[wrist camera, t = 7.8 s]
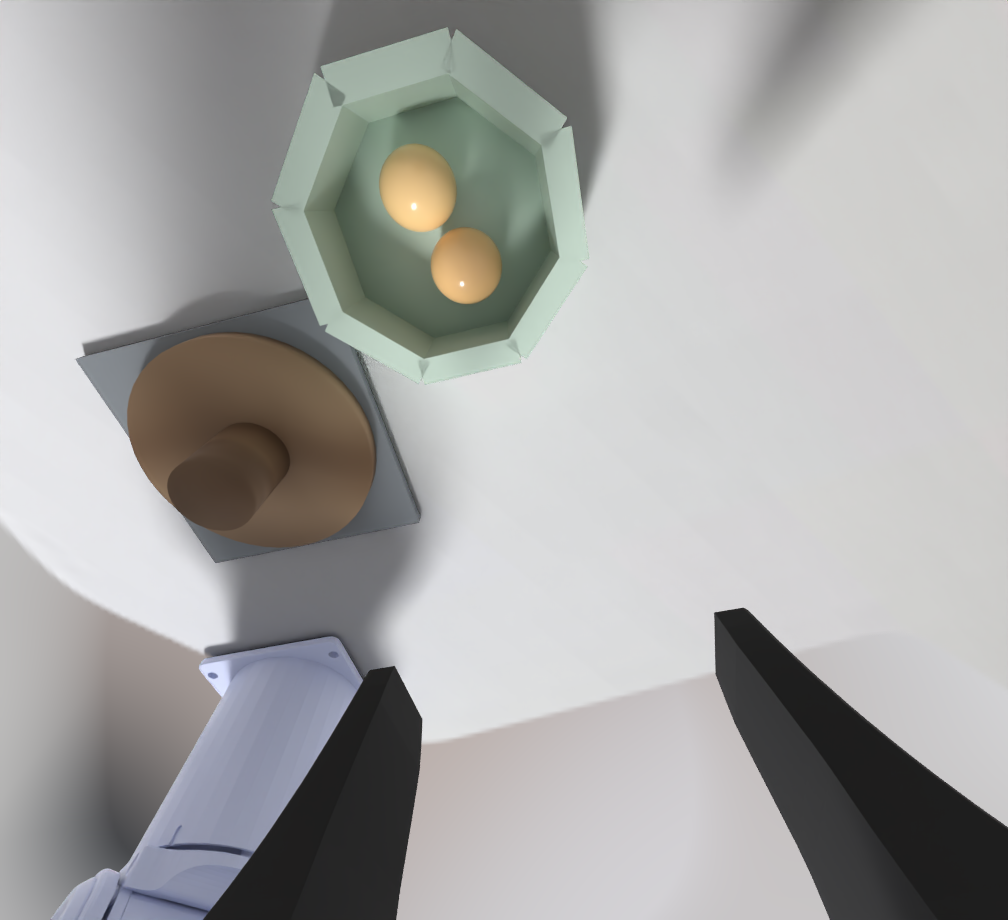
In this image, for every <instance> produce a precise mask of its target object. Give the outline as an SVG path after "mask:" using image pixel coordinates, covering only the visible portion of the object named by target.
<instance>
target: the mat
mask: <svg viewBox="0 0 1008 920" xmlns="http://www.w3.org/2000/svg"><path fill="white" fill-rule="evenodd" d="M327 325H328V324H325V325H321V326H320V325H319V322H318V320H317V317H316V315H315V313H314V310H313V308H312V305H311V303H310V301H309V299H305V300H301V301H298V302H294V303H290V304H286V305H282V306H278V307H274V308H270V309H266V310H262V311H258V312H255V313H251V314H247V315H243V316H239V317H235V318H231V319H227V320H223V321H219V322H215V323H212V324H208V325H204V326H200V327H196V328H192V329H188V330H184V331H180V332H176V333H172V334H169V335H165V336H161V337H157V338H153V339H149V340H145V341H141V342H137V343H133V344H129V345H126V346H122V347H118V348H114V349H110V350H106V351H102V352H98V353H94V354H90V355H86V356H83V357H80V358H77V359H76V361H77V362H78V364H79V365H80V367H81V368H82V370H83V371H84V372H85V374H86V375H87V377H88V378H89V380H90V381H91V383H92V384H93V386H94V387H95V388H96V390H97V391H98V393H99V394H100V396H101V397H102V399H103V400H104V402H105V403H106V405H107V406H108V407H109V409H110V410H111V412H112V413H113V415H114V416H115V418H116V419H117V421H118V422H119V423H120V425H121V426H122V428H123V429H124V431H125V432H126V434H127V435H128V437H129V432H128V426H127V408H128V401H129V396H130V394H131V391H132V388H133V385H134V383H135V381H136V380H137V378H138V376H139V374H140V373H141V372H142V370H143V369H144V368H145V367H146V366H147V365H148V363H149V362H150V361H152V360H153V359H154V358H155V357H157V356H158V355H159V354H160V353H162V352H164V351H166V350H168V349H170V348H171V347H173V346H175V345H178V344H180V343H182V342H185V341H187V340H190V339H193V338H196V337H199V336H202V335H207V334H212V333H220V332H241V333H251V334H256V335H261V336H266V337H270V338H273V339H276V340H278V341H281V342H284V343H287V344H289V345H291V346H293V347H295V348H298V349H300V350H302V351H303V352H305V353H307V354H308V355H310V356H312V357H313V358H315V359H317V360H318V361H319V362H321V363H322V364H323V365H324V366H326V367H327V368H328V369H330V370H331V371H332V372H333V373H334V374H335V375H336V376H337V377H338V378H339V379H340V380H341V381H342V382H343V383H344V384H345V385H346V386H347V387H348V389H349V390H350V391H351V392H352V393H353V395H354V396H355V398H356V399H357V401H358V402H359V404H360V405H361V407H362V409H363V411H364V413H365V415H366V417H367V419H368V421H369V423H370V426H371V429H372V432H373V435H374V441H375V446H376V460H377V462H376V471H375V476H374V480H373V483H372V486H371V488H370V491H369V493H368V495H367V497H366V499H365V501H364V504H363V506H362V507H361V509H360V510H359V512H358V513H357V515H356V516H355V517H354V518H353V519H352V520H351V521H350V522H349V523H348V524H347V525H346V526H345V527H343V528H342V529H341V530H340V531H338V532H336V533H335V534H333V535H331V536H330V537H328V538H325V539H323V540H320V541H318V542H315V543H319V542H324V541H329V540H334V539H339V538H344V537H349V536H354V535H359V534H364V533H369V532H374V531H380V530H385V529H390V528H395V527H400V526H405V525H410V524H415V523H419V521H420V515H419V512H418V510H417V507H416V505H415V502H414V499H413V497H412V494H411V492H410V489H409V487H408V484H407V481H406V479H405V476H404V474H403V471H402V469H401V466H400V463H399V461H398V458H397V456H396V453H395V451H394V448H393V445H392V443H391V440H390V438H389V435H388V433H387V430H386V427H385V425H384V422H383V420H382V417H381V415H380V412H379V409H378V407H377V404H376V402H375V399H374V397H373V394H372V391H371V389H370V386H369V384H368V381H367V379H366V376H365V373H364V371H363V368H362V366H361V363H360V361H359V358H358V355H357V353H356V350H355V348H354V347H352V346H350V345H348V344H347V343H345V342H343V341H341V340H339V339H338V338H336V337H334V336H332V335H331V334H329V333H327V332H325V330H326V328H327ZM129 438H130V437H129ZM183 517H184V518H185V520H186V521H187V522H188V524H189V525H190V527H191V528H192V530H193V531H194V533H195V534H196V536H197V537H198V538H199V540H200V541H201V543H202V544H203V546H204V547H205V549H206V550H207V552H208V553H209V555H210V556H211V557H212V559H213V560H214V562H215V563H219V562H224V561H229V560H234V559H239V558H244V557H249V556H254V555H259V554H264V553H269V552H274V551H279V550H284V549H289V548H294V547H281V548H276V547H262V546H256V545H250V544H246V543H242V542H238V541H235V540H232V539H229V538H226V537H224V536H221V535H219V534H217V533H214V532H212V531H210V530H208V529H206V528H204V527H202V526H199V525H197V524H195V523H193V522H192V521H190V520H189V519H187V518H186V517H185V516H183ZM311 544H314V543H311ZM307 545H309V544H307ZM303 546H304V545H303ZM296 547H299V546H296Z"/></svg>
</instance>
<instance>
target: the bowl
mask: <svg viewBox="0 0 1008 920" xmlns="http://www.w3.org/2000/svg"><path fill="white" fill-rule="evenodd" d="M320 67H321V70H322V73H323V76H324V79H325V80H324V79H323V78H321V77H320V76H318V75H317V74H316V73H314V75H313V78H312V81H311V84H310V87H309V90H308V93H307V96H306V99H305V102H304V105H303V108H302V111H301V114H300V116H299V119H298V122H297V125H296V128H295V131H294V134H293V137H292V140H291V143H290V146H289V149H288V152H287V155H286V158H285V161H284V164H283V167H282V170H281V173H280V176H279V179H278V182H277V185H276V188H275V191H274V194H273V197H272V200H271V201H272V202H274V203H275V204H277V205H278V206H280V207H278V208H275V209H272V212H273V214H274V216H275V219H276V221H277V224H278V226H279V228H280V231H281V233H282V236H283V238H284V240H285V243H286V245H287V248H288V250H289V252H290V255H291V257H292V260H293V262H294V264H295V267H296V269H297V272H298V274H299V277H300V279H301V281H302V284H303V286H304V289H305V291H306V293H307V296H308V298H309V301H310V303H311V305H312V308H313V310H314V313H315V315H316V317H317V320H318V322H319V325H320V326H321V325H325V324H328V325H327V328H326V330H325V332H327V333H329V334H331V335H332V336H334V337H336V338H338V339H339V340H341V341H343V342H345V343H347V344H348V345H350V346H352V347H354V348H355V349H357V350H359V351H361V352H363V353H364V354H366V355H368V356H370V357H371V358H373V359H375V360H377V361H379V362H380V363H382V364H384V365H386V366H388V367H389V368H391V369H393V370H395V371H396V372H398V373H400V374H402V375H404V376H405V377H407V378H409V379H411V380H412V381H414V382H416V383H418V384H419V383H420V381H421V379H422V377H423V380H424V383H425V385H427V384H431V383H436V382H440V381H444V380H449V379H453V378H457V377H462V376H466V375H470V374H475V373H479V372H484V371H488V370H492V369H497V368H501V367H505V366H510V365H514V364H518V363H521V356H523V357H524V358H526V359H527V358H528V357H529V355H530V354H531V352H532V350H533V349H534V347H535V346H536V344H537V343H538V341H539V340H540V338H541V337H542V335H543V334H544V332H545V331H546V329H547V328H548V326H549V325H550V323H551V321H552V320H553V318H554V317H555V315H556V314H557V312H558V311H559V309H560V308H561V306H562V305H563V303H564V302H565V300H566V299H567V297H568V296H569V294H570V293H571V291H572V289H573V288H574V286H575V285H576V283H577V282H578V280H579V279H580V277H581V276H582V274H583V273H584V271H585V270H586V268H587V267H588V266H586V265H585V264H584V263H582V262H581V261H583V260H587V259H589V252H588V245H587V237H586V230H585V222H584V215H583V207H582V200H581V192H580V185H579V177H578V170H577V162H576V155H575V147H574V140H573V132H572V126H569V127H565V128H562V127H563V125H564V123H565V121H566V119H567V117H566V116H565V115H563V114H562V113H561V112H560V111H558V110H557V109H556V108H555V107H553V106H552V105H551V104H550V103H548V102H547V101H546V100H545V99H543V98H542V97H541V96H540V95H538V94H537V93H536V92H535V91H533V90H532V89H531V88H530V87H528V86H527V85H526V84H525V83H523V82H522V81H521V80H520V79H518V78H517V77H516V76H515V75H513V74H512V73H511V72H510V71H509V70H507V69H506V68H505V67H504V66H502V65H501V64H500V63H499V62H497V61H496V60H495V59H494V58H492V57H491V56H490V55H489V54H487V53H486V52H485V51H484V50H482V49H481V48H480V47H479V46H477V45H476V44H475V43H474V42H472V41H471V40H470V39H469V38H467V37H466V36H465V35H464V34H462V33H461V32H460V31H459V30H457V29H456V31H455V33H454V36H453V38H452V40H451V36H450V33H449V29H448V27H446V28H443V29H440V30H436V31H433V32H430V33H427V34H423V35H420V36H417V37H414V38H411V39H407V40H404V41H401V42H398V43H394V44H391V45H388V46H385V47H381V48H378V49H375V50H372V51H368V52H365V53H362V54H359V55H355V56H352V57H349V58H346V59H342V60H339V61H336V62H333V63H330V64H326V65H323V66H320ZM561 128H562V129H561ZM520 355H521V356H520Z"/></svg>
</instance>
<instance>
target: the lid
mask: <svg viewBox="0 0 1008 920" xmlns="http://www.w3.org/2000/svg"><path fill="white" fill-rule="evenodd" d="M127 426H128V432H129V437H130V441H131V444H132V447H133V450H134V453H135V455H136V458H137V460H138V462H139V464H140V466H141V468H142V469H143V471H144V472H145V474H146V476H147V477H148V479H149V480H150V481H151V483H152V484H153V485H154V486H155V488H156V489H157V490H158V491H159V492H160V494H161V495H162V496H163V497H164V498H165V499H166V500H167V501H168V502H169V503H170V504H172V505H173V506H174V507H175V508H176V509H177V510H178V511H179V512H180V513H181V514H182V515H183V516H185V517H186V518H187V519H189V520H190V521H192V522H193V523H195V524H197V525H199V526H202V527H204V528H206V529H208V530H210V531H212V532H214V533H217V534H219V535H221V536H224V537H226V538H229V539H232V540H235V541H238V542H242V543H246V544H250V545H256V546H262V547H276V548H281V547H296V546H303V545H307V544H311V543H315V542H318V541H320V540H323V539H325V538H328V537H330V536H331V535H333V534H335V533H336V532H338V531H340V530H341V529H342V528H343V527H345V526H346V525H347V524H348V523H349V522H350V521H351V520H352V519H353V518H354V517H355V516H356V515H357V513H358V512H359V510H360V509H361V507H362V506H363V504H364V501H365V499H366V497H367V495H368V493H369V491H370V488H371V486H372V483H373V480H374V476H375V471H376V462H377V460H376V446H375V441H374V435H373V432H372V429H371V426H370V423H369V421H368V419H367V417H366V415H365V413H364V411H363V409H362V407H361V405H360V404H359V402H358V401H357V399H356V398H355V396H354V395H353V393H352V392H351V391H350V390H349V389H348V387H347V386H346V385H345V384H344V383H343V382H342V381H341V380H340V379H339V378H338V377H337V376H336V375H335V374H334V373H333V372H332V371H331V370H330V369H328V368H327V367H326V366H324V365H323V364H322V363H321V362H319V361H318V360H317V359H315V358H313V357H312V356H310V355H308V354H307V353H305V352H303V351H302V350H300V349H298V348H295V347H293V346H291V345H289V344H287V343H284V342H281V341H278V340H276V339H273V338H270V337H266V336H261V335H256V334H251V333H241V332H220V333H212V334H207V335H202V336H199V337H196V338H193V339H190V340H187V341H185V342H182V343H180V344H178V345H175V346H173V347H171V348H170V349H168V350H166V351H164V352H162V353H160V354H159V355H158V356H157V357H155V358H154V359H153V360H152V361H150V362H149V363H148V365H147V366H146V367H145V368H144V369H143V370H142V372H141V373H140V374H139V376H138V378H137V380H136V381H135V383H134V385H133V388H132V391H131V394H130V396H129V401H128V408H127Z"/></svg>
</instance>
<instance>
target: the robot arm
mask: <svg viewBox="0 0 1008 920" xmlns="http://www.w3.org/2000/svg"><path fill="white" fill-rule="evenodd" d="M714 619H715V664H716V676H717V679H718V681H719V684H720V687H721V689H722V692H723V694H724V697H725V700H726V702H727V705H728V707H729V710H730V712H731V715H732V717H733V720H734V722H735V724H736V726H737V728H738V730H739V732H740V735H741V737H742V738H743V740H744V742H745V744H746V746H747V748H748V750H749V752H750V754H751V756H752V758H753V760H754V762H755V764H756V766H757V768H758V770H759V772H760V773H761V776H762V778H763V779H764V782H765V783H766V786H767V787H768V789H769V791H770V793H771V795H772V797H773V799H774V801H775V803H776V805H777V807H778V809H779V811H780V813H781V815H782V817H783V819H784V820H785V823H786V825H787V827H788V829H789V830H790V832H791V834H792V836H793V838H794V840H795V842H796V844H797V846H798V848H799V850H800V852H801V855H802V857H803V859H804V861H805V863H806V865H807V867H808V869H809V871H810V874H811V876H812V878H813V880H814V883H815V885H816V887H817V890H818V892H819V895H820V897H821V899H822V902H823V904H824V906H825V909H826V911H827V914H828V916H829V918H830V920H1008V827H1007V826H1005V825H1004V824H1002V823H1001V822H999V821H998V820H997V819H995V818H994V817H992V816H991V815H990V814H988V813H987V812H985V811H984V810H983V809H981V808H980V807H978V806H977V805H975V804H974V803H973V802H971V801H970V800H969V799H967V798H966V797H965V796H963V795H962V794H961V793H959V792H958V791H957V790H955V789H954V788H953V787H951V786H950V785H949V784H947V783H946V782H944V781H943V780H942V779H940V778H939V777H938V776H936V775H935V774H934V773H933V772H931V771H930V770H929V769H927V768H926V767H925V766H923V765H922V764H921V763H919V762H918V761H917V760H916V759H914V758H913V757H912V756H911V755H909V754H908V753H907V752H906V751H904V750H903V749H902V748H901V747H899V746H898V745H897V744H896V743H894V742H893V741H892V740H891V739H889V738H888V737H887V736H886V735H885V734H883V733H882V732H881V731H880V730H878V729H877V728H876V727H875V726H874V725H872V724H871V723H870V722H869V721H867V720H866V719H865V718H864V717H863V716H861V715H860V714H859V713H858V712H857V711H856V710H854V709H853V708H852V707H851V706H850V705H849V704H847V703H846V702H845V701H844V700H843V699H842V698H841V697H840V696H838V695H837V694H836V693H835V692H834V691H833V690H832V689H830V688H829V687H828V686H827V685H826V684H825V683H824V682H823V681H821V680H820V679H819V678H818V677H817V676H816V675H815V674H814V673H812V672H811V671H810V670H809V669H808V668H807V667H806V666H805V665H804V664H803V663H801V661H799V660H798V659H797V658H796V657H795V656H794V655H793V654H792V653H791V652H790V651H789V650H788V649H787V648H786V647H785V646H784V645H783V644H782V643H780V642H779V641H778V640H777V639H776V638H775V637H774V636H773V635H772V634H771V633H770V632H769V631H768V630H767V629H766V628H765V627H764V626H763V625H762V624H761V623H760V622H759V621H758V620H757V619H756V618H755V617H754V616H753V615H752V614H751V613H750V612H749V611H748V610H747V609H745V608H739V609H733V610H727V611H721V612H715V613H714ZM199 669H200V671H201V672H202V674H203V675H204V676H205V677H206V678H207V679H208V681H209V682H210V683H211V684H212V686H213V687H214V688H215V689H216V690H217V692H218V693H219V694H220V695H221V697H222V699H221V700H220V702H219V704H218V706H217V707H216V709H215V711H214V713H213V715H212V716H211V718H210V720H209V722H208V723H207V725H206V727H205V729H204V731H203V732H202V734H201V736H200V737H199V739H198V741H197V743H196V745H195V746H194V748H193V750H192V752H191V753H190V755H189V757H188V759H187V760H186V762H185V764H184V766H183V768H182V769H181V771H180V773H179V775H178V776H177V778H176V780H175V782H174V783H173V785H172V787H171V789H170V791H169V792H168V794H167V796H166V797H165V799H164V801H163V803H162V805H161V806H160V808H159V810H158V812H157V813H156V815H155V817H154V819H153V820H152V822H151V824H150V826H149V827H148V829H147V831H146V833H145V835H144V837H143V838H142V840H141V842H140V844H139V845H138V847H137V849H136V850H135V852H134V854H133V856H132V858H131V859H130V861H129V862H128V864H127V865H125V867H124V868H123V869H122V870H121V871H120V872H119V873H118V872H116V871H113V870H111V869H103V870H101V871H100V872H99V873H98V874H97V875H96V876H95V877H92V878H90V879H88V880H86V881H85V882H83V883H81V884H79V885H77V886H76V887H75V888H74V889H73V890H72V891H71V893H70V894H69V895H68V896H67V898H66V899H65V900H64V901H63V903H62V904H61V905H60V907H59V908H58V910H57V911H56V912H55V914H54V915H53V917H52V918H51V920H396V916H397V909H398V901H399V894H400V887H401V881H402V874H403V869H404V863H405V857H406V851H407V845H408V839H409V833H410V827H411V821H412V814H413V808H414V802H415V796H416V790H417V783H418V777H419V770H420V756H421V739H422V718H421V716H420V714H419V712H418V710H417V708H416V706H415V704H414V702H413V700H412V698H411V697H410V695H409V693H408V691H407V689H406V687H405V685H404V683H403V681H402V679H401V677H400V675H399V673H398V671H397V670H396V668H395V666H392V667H386V668H380V669H374V670H370V671H369V672H368V674H367V675H366V677H365V678H364V680H363V679H362V678H361V676H360V674H359V672H358V671H357V669H356V667H355V666H354V664H353V662H352V660H351V659H350V657H349V655H348V653H347V652H346V650H345V648H344V647H343V645H342V643H341V641H340V640H339V639H338V638H336V637H332V636H331V637H323V638H318V639H312V640H306V641H301V642H295V643H289V644H284V645H278V646H272V647H267V648H261V649H255V650H250V651H244V652H238V653H233V654H227V655H221V656H216V657H210V658H206V659H204V660H203V661H202V662H201V664H200V665H199Z"/></svg>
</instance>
